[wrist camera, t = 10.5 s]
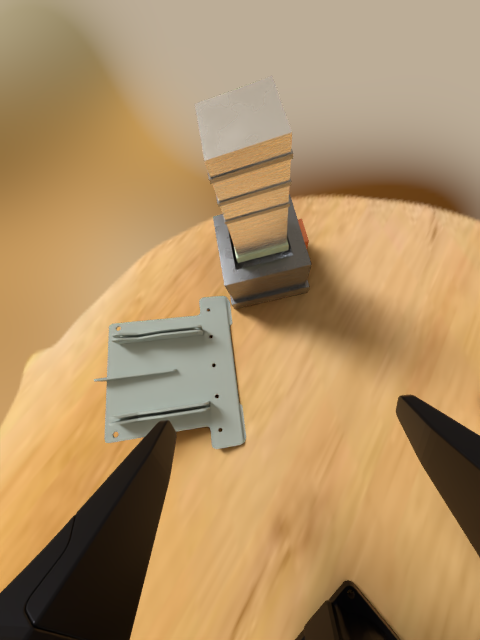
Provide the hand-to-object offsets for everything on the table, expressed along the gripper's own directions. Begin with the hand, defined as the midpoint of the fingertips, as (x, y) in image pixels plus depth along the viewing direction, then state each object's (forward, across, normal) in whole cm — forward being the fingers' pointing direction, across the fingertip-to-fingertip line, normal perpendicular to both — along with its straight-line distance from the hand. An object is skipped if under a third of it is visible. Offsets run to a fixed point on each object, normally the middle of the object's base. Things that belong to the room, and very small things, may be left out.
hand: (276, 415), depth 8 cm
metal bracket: (+12, +10, +7) cm, 17 cm away
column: (+14, 0, -5) cm, 15 cm away
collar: (+18, 0, -1) cm, 18 cm away
